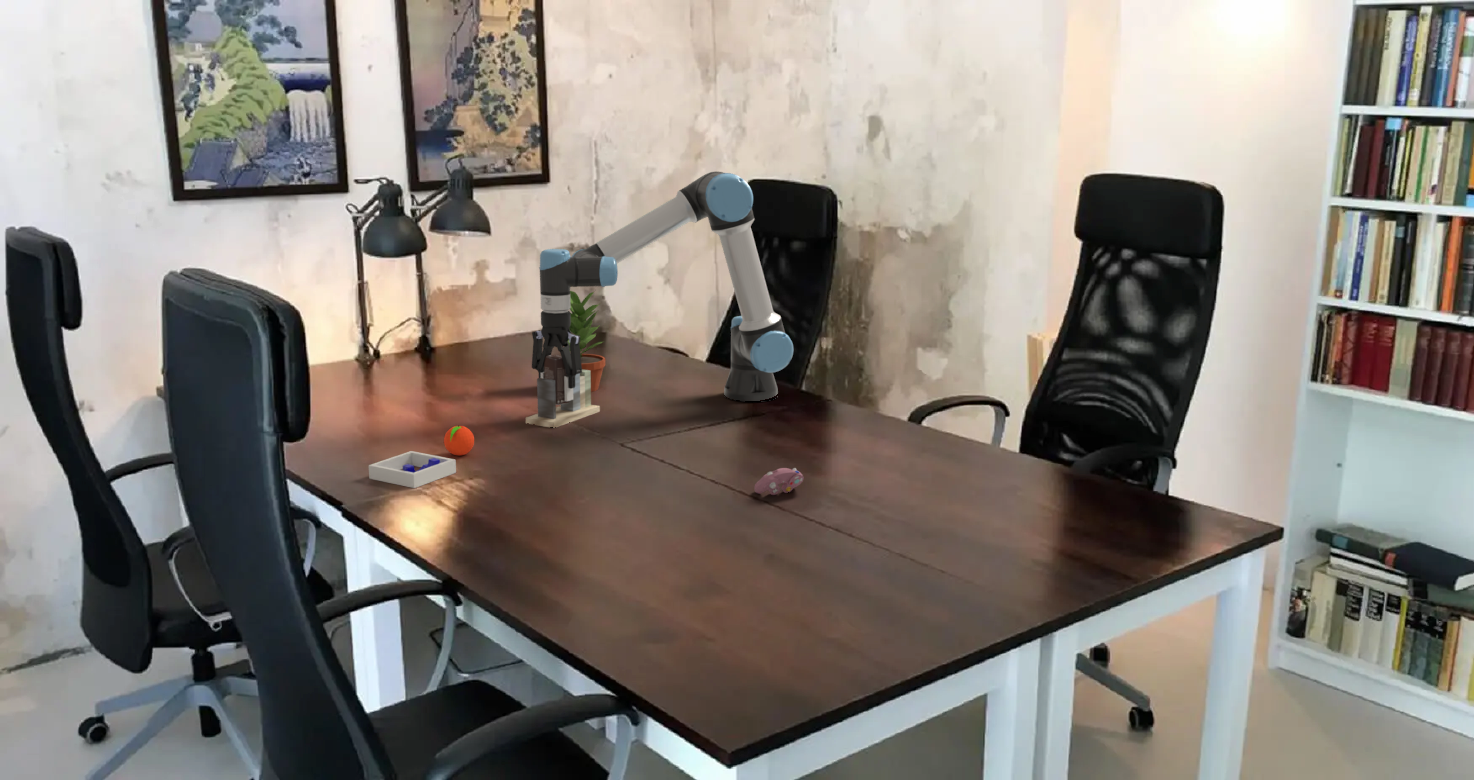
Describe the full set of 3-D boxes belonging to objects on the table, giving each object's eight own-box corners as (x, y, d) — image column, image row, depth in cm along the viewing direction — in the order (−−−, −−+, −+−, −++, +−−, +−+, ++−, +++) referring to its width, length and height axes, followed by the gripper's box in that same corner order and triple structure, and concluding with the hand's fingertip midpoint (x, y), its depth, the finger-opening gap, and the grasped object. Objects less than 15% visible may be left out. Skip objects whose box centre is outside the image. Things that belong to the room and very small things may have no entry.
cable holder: (431, 474, 265) (430, 456, 264) (440, 477, 262) (439, 459, 261) (399, 481, 259) (398, 463, 258) (408, 485, 256) (407, 467, 256)
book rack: (599, 411, 320) (599, 369, 317) (554, 428, 303) (553, 383, 300) (572, 407, 324) (571, 365, 321) (525, 423, 307) (524, 379, 304)
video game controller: (760, 504, 252) (768, 479, 248) (751, 489, 255) (759, 465, 251) (800, 497, 257) (809, 473, 253) (791, 483, 260) (799, 459, 256)
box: (570, 403, 309) (570, 357, 306) (555, 405, 306) (554, 359, 304) (558, 398, 314) (557, 353, 311) (543, 401, 311) (542, 355, 308)
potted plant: (617, 387, 348) (616, 284, 341) (583, 397, 335) (582, 290, 328) (577, 380, 355) (576, 279, 349) (543, 390, 343) (540, 286, 336)
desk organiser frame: (456, 472, 265) (455, 459, 264) (414, 488, 254) (413, 474, 253) (411, 463, 271) (411, 450, 270) (369, 478, 260) (368, 465, 259)
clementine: (465, 461, 274) (464, 431, 272) (437, 459, 275) (435, 429, 273) (479, 452, 281) (478, 422, 280) (452, 450, 282) (450, 420, 281)
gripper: (515, 308, 306) (517, 396, 311) (578, 316, 297) (579, 406, 302) (533, 305, 312) (535, 390, 318) (596, 312, 303) (597, 400, 309)
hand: (557, 398), depth 310 cm, fingers closed on box, 7 cm apart
